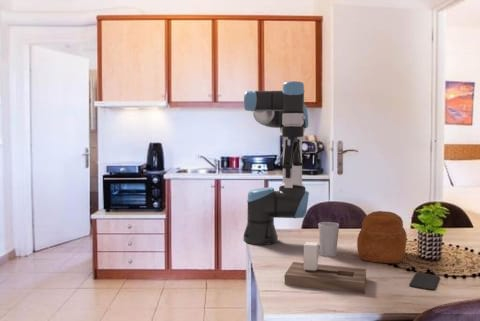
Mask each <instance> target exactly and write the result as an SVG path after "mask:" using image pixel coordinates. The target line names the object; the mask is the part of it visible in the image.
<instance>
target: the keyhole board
mask: <svg viewBox="0 0 480 321" xmlns="http://www.w3.org/2000/svg"><path fill="white" fill-rule="evenodd" d="M366 279H367V268H363V267H362V268H360V267H351V266H341V265H328V264H322V263H321V264H319V263H318V268H317V270H316V271H315V270H314V272H313V271H308V270H305V269H304V262H301V261H292V263H291V264H290V266H289V268H288V269H287V270H286V272H285V274H284V285H286V286H287V285H288V286H293V287H294V286H296V287H304V288H313V289H321V290H322V289H323V290H329V291H330V290H331V291H338V292H339V291H340V292H347V293H348V292H349V293H357V294H365V288H366Z"/></svg>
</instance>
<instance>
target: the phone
mask: <svg viewBox="0 0 480 321" xmlns="http://www.w3.org/2000/svg"><path fill="white" fill-rule="evenodd" d="M440 279H441V278H440V275H437V274H431V273H430V274H429V273H424V272H416V273H415V274H414V276H413V278H412V279H411V281H410V282H409V284H408V286H409V287H410V288H414V289H420V290H425V291H435V290H436V288H437V286H438V282H439V281H440Z"/></svg>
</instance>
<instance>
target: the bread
mask: <svg viewBox="0 0 480 321" xmlns="http://www.w3.org/2000/svg"><path fill="white" fill-rule="evenodd" d="M407 239H408V238H407V232H406V230H405V228H404V221H403V219H402V217H401V216H400V215H398V214H397V213H394V212H392V211H387V210H386V211H383V210H378V211H377V210H376V211H372V212H370V213H368V214H367V215H365V216H364V218H363V221H362V222H361V229H360V230H359V232H358V236H357V240H356V245H357V246H356V248H357V253H358V257H359V259H361V260H363V261H365V262H372V263H379V264H398V263H399V264H400V263H401V262H402V261H403V260H404V258H405V254H406V249H407Z"/></svg>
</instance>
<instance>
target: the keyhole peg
mask: <svg viewBox="0 0 480 321" xmlns="http://www.w3.org/2000/svg"><path fill="white" fill-rule="evenodd" d="M303 263H304V269H305V270H308V271H313V272H314V270H315V271H316V270H317V268H318V264H319V242H315V241H314V242H312V241H305V243H304V244H303Z"/></svg>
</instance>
